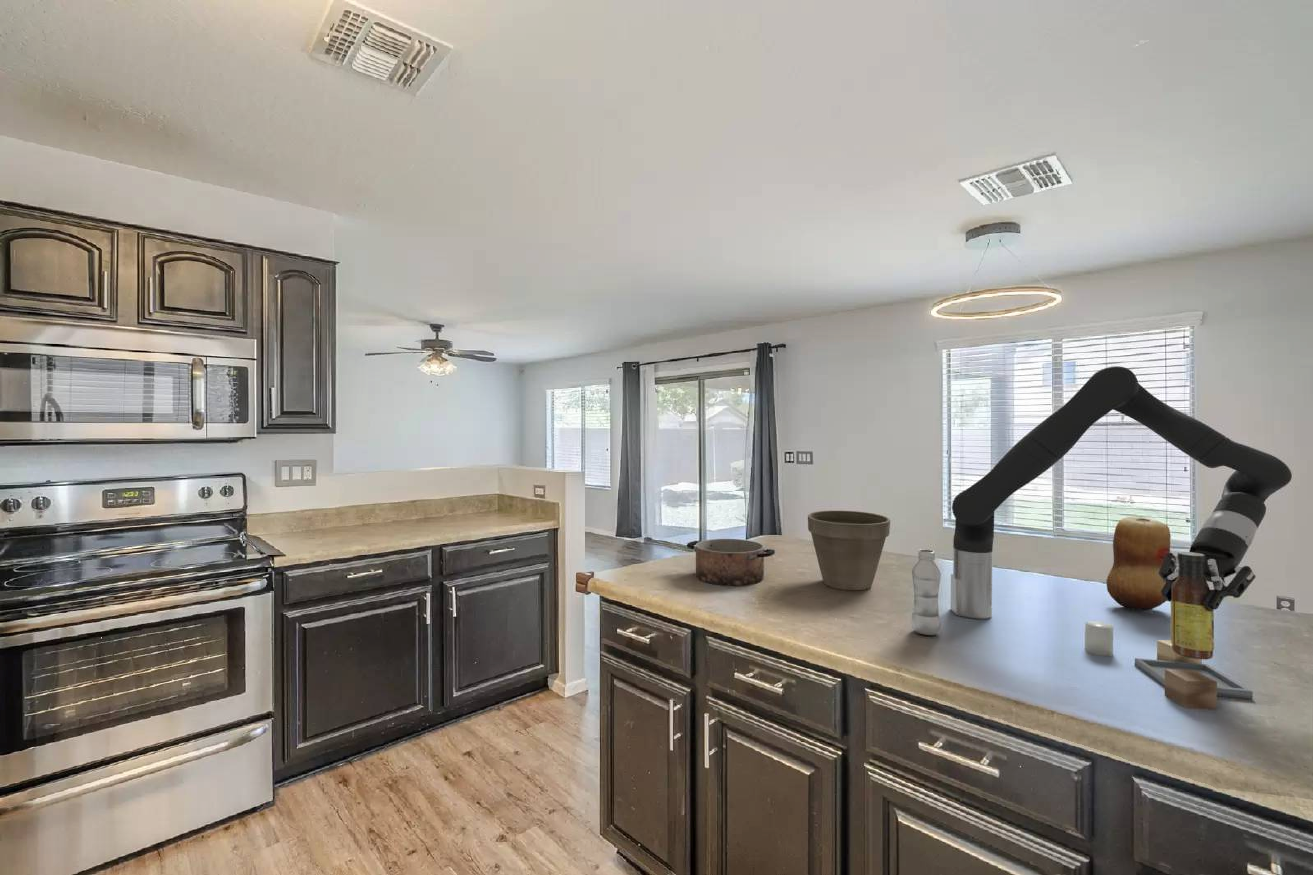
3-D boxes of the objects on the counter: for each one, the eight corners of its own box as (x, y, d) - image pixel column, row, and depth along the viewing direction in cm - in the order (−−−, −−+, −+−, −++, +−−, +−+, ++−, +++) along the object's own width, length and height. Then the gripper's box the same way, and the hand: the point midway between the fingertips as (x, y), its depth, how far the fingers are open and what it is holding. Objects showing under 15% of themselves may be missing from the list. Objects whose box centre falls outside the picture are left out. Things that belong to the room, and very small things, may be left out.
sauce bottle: (1222, 662, 112) (1224, 558, 111) (1184, 659, 113) (1186, 557, 112) (1197, 649, 118) (1200, 550, 117) (1162, 646, 119) (1164, 549, 119)
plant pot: (890, 599, 169) (891, 524, 169) (802, 591, 178) (803, 519, 177) (889, 578, 192) (889, 512, 192) (811, 571, 201) (812, 508, 201)
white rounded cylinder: (1091, 655, 129) (1091, 627, 129) (1080, 646, 134) (1081, 620, 133) (1117, 657, 127) (1118, 629, 127) (1106, 648, 132) (1106, 622, 132)
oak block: (1174, 668, 122) (1174, 647, 122) (1156, 661, 126) (1157, 640, 126) (1201, 668, 122) (1202, 646, 122) (1183, 660, 126) (1183, 639, 126)
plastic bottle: (938, 630, 144) (939, 549, 144) (942, 640, 138) (943, 555, 137) (909, 627, 146) (910, 547, 146) (912, 636, 140) (913, 553, 139)
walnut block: (1185, 708, 105) (1186, 680, 105) (1164, 695, 110) (1165, 669, 110) (1216, 709, 104) (1217, 681, 104) (1193, 696, 109) (1194, 670, 109)
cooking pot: (673, 578, 193) (673, 546, 193) (704, 565, 212) (704, 535, 212) (759, 592, 177) (759, 557, 177) (784, 576, 196) (784, 544, 196)
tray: (1171, 691, 111) (1171, 684, 111) (1134, 665, 123) (1134, 658, 123) (1252, 699, 108) (1252, 691, 108) (1206, 671, 120) (1206, 664, 120)
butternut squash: (1151, 620, 151) (1153, 523, 151) (1095, 605, 164) (1096, 516, 163) (1181, 613, 157) (1183, 520, 156) (1125, 599, 169) (1126, 513, 169)
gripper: (1173, 520, 124) (1136, 582, 120) (1263, 532, 111) (1224, 602, 107) (1189, 544, 126) (1152, 605, 122) (1279, 558, 113) (1241, 627, 109)
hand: (1186, 603), depth 115 cm, fingers closed on sauce bottle, 6 cm apart
